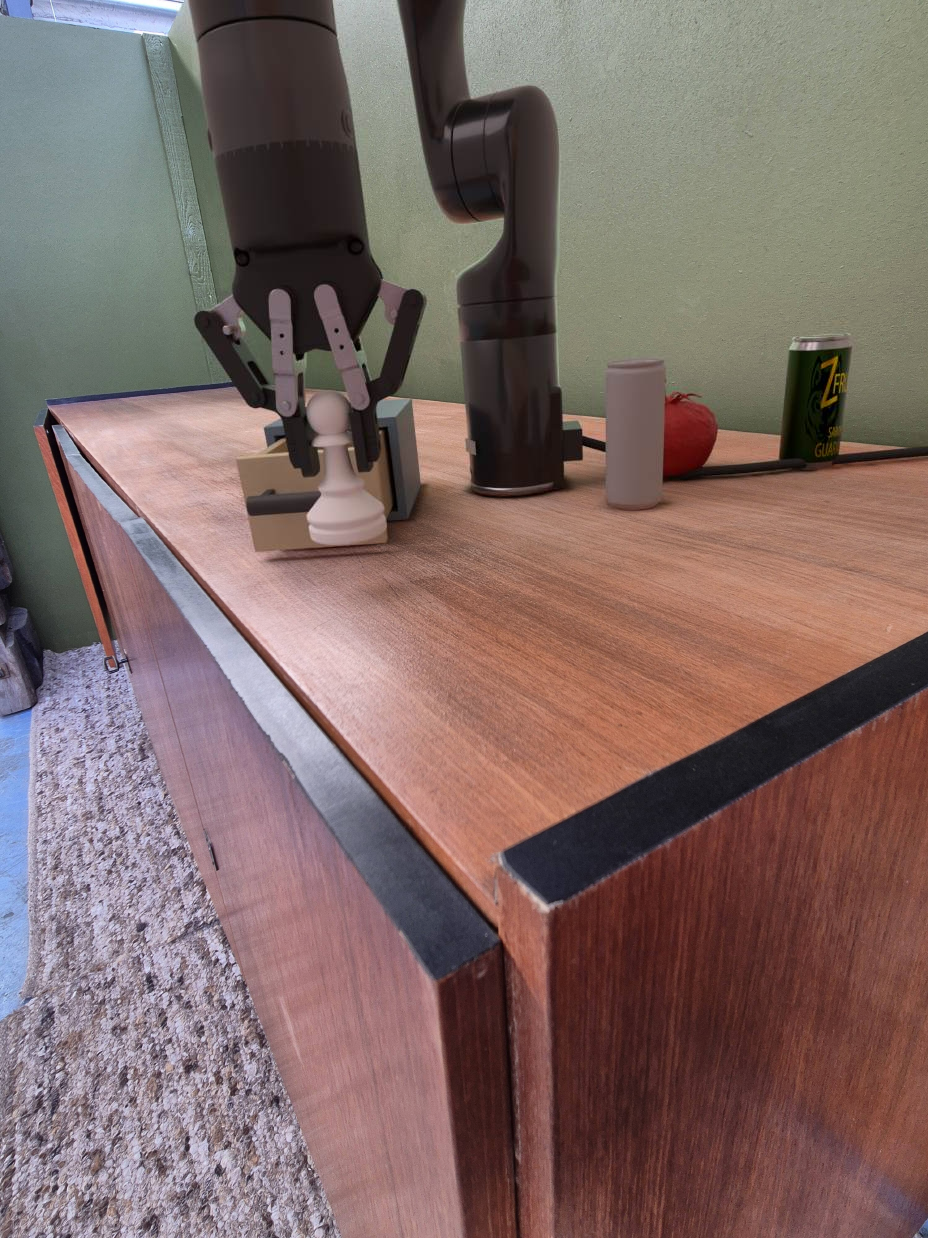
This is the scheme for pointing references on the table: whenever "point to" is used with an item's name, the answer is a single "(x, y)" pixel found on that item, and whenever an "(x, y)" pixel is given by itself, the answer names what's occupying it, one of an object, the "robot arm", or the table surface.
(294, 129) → the robot arm
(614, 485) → the beverage can
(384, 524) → the chess pawn
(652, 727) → the table surface
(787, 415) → the green soda can
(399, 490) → the cabinet
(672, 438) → the red round piece
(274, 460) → the drawer
